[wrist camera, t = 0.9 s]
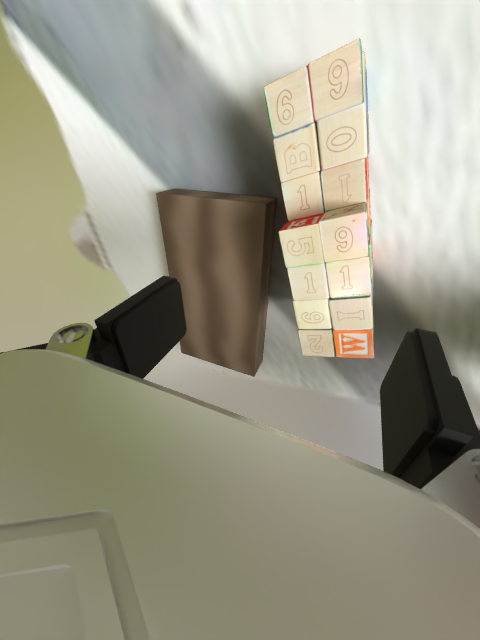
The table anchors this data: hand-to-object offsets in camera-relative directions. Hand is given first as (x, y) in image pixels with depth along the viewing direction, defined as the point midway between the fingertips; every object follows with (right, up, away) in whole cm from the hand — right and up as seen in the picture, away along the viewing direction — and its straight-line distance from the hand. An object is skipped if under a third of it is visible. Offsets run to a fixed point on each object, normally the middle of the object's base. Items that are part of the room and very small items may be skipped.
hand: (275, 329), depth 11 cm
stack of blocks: (+9, +12, +17) cm, 23 cm away
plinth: (-4, +6, +28) cm, 29 cm away
